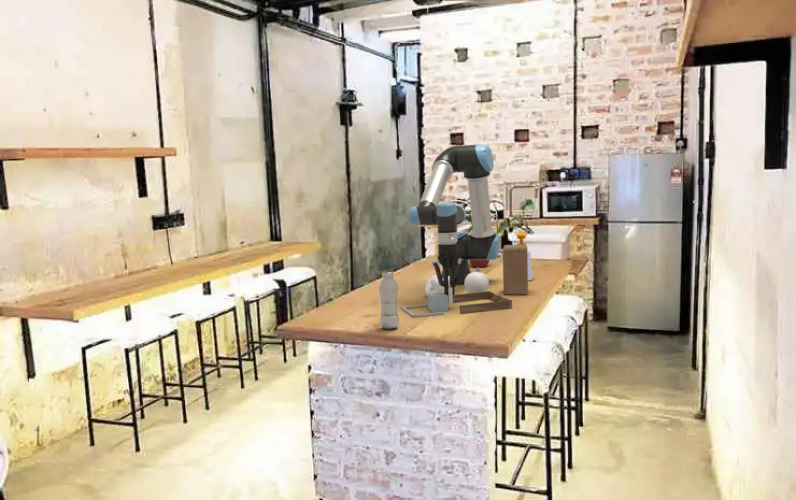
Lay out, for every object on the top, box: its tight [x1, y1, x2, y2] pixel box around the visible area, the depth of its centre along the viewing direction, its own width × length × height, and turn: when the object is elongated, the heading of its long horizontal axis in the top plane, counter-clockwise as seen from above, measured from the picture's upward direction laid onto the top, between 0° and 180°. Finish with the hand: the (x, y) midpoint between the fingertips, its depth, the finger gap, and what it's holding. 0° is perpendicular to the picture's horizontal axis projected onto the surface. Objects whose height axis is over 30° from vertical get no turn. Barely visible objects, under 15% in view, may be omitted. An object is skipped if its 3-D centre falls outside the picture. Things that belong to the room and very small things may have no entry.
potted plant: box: [466, 210, 490, 268], centre depth 346 cm, size 17×16×35 cm
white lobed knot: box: [424, 274, 450, 297], centre depth 274 cm, size 11×12×9 cm
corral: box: [400, 303, 445, 319], centre depth 250 cm, size 16×12×1 cm
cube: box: [427, 293, 449, 313], centre depth 251 cm, size 6×6×6 cm
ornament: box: [463, 267, 490, 293], centre depth 274 cm, size 10×10×12 cm
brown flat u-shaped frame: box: [453, 290, 513, 315], centre depth 256 cm, size 20×21×3 cm
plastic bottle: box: [378, 270, 400, 330], centre depth 226 cm, size 6×7×20 cm
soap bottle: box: [515, 231, 533, 282], centre depth 307 cm, size 10×14×22 cm
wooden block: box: [502, 244, 529, 296], centre depth 276 cm, size 10×10×20 cm
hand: (449, 303), depth 253 cm, fingers closed
